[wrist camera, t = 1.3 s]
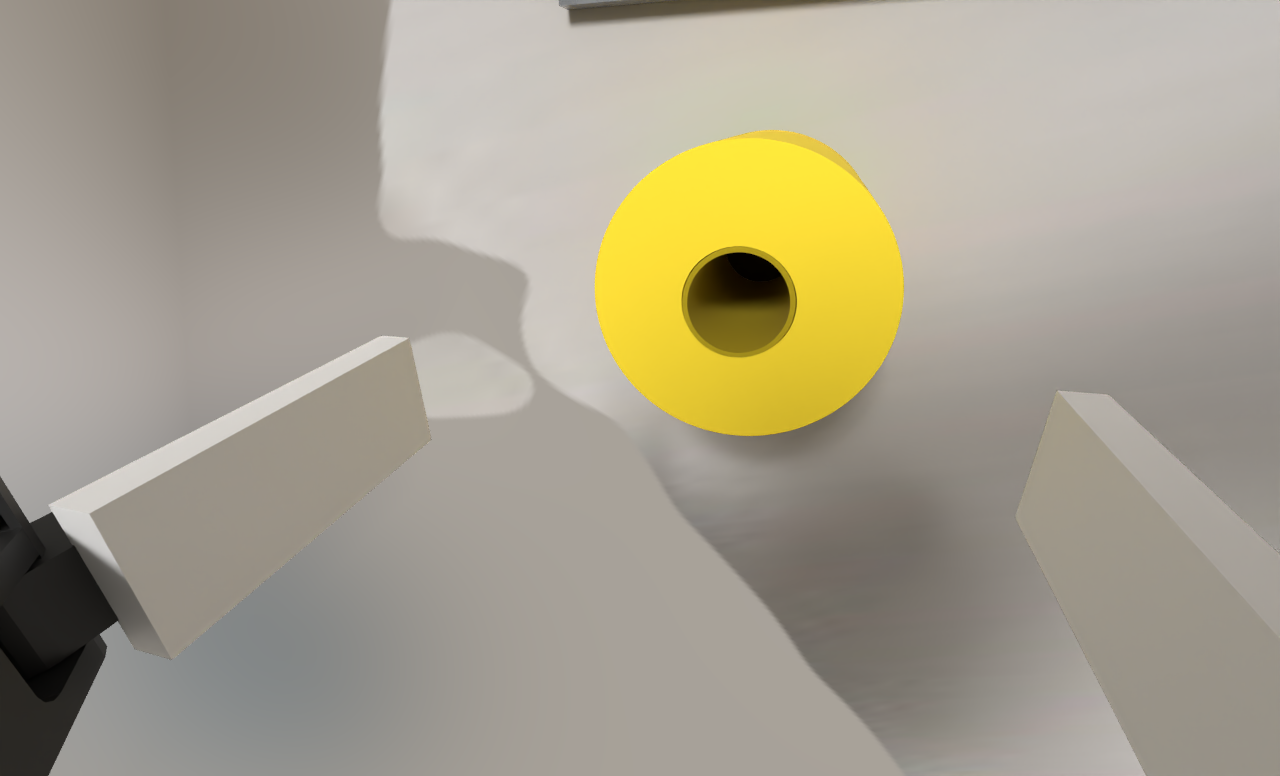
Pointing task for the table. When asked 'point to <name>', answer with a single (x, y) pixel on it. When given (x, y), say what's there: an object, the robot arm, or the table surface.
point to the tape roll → (750, 284)
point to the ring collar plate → (600, 3)
